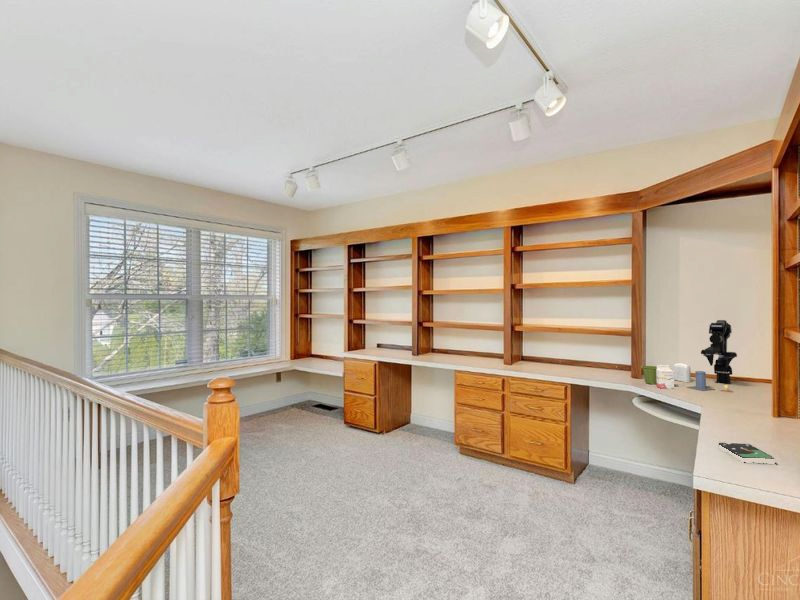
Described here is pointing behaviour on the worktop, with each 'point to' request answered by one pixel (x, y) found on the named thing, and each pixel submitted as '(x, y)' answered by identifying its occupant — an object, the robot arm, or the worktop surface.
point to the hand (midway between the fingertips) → (718, 366)
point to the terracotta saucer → (726, 389)
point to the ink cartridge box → (664, 377)
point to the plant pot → (650, 374)
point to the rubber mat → (701, 389)
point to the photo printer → (682, 372)
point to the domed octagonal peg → (700, 379)
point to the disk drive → (746, 450)
